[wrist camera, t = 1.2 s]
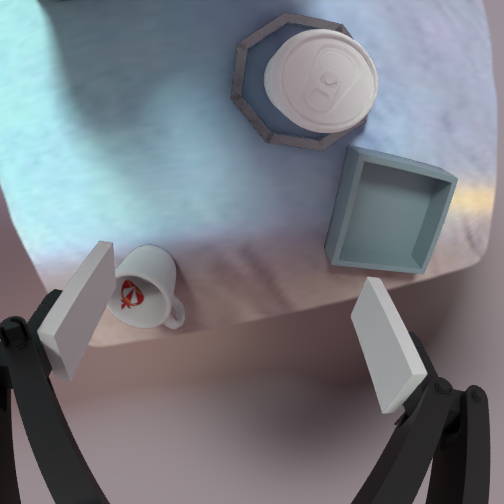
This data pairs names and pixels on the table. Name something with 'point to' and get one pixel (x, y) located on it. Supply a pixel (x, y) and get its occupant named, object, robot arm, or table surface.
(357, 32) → the table surface
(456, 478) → the robot arm
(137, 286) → the cup
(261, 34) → the collar
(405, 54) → the table surface
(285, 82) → the beverage can
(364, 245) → the bin
